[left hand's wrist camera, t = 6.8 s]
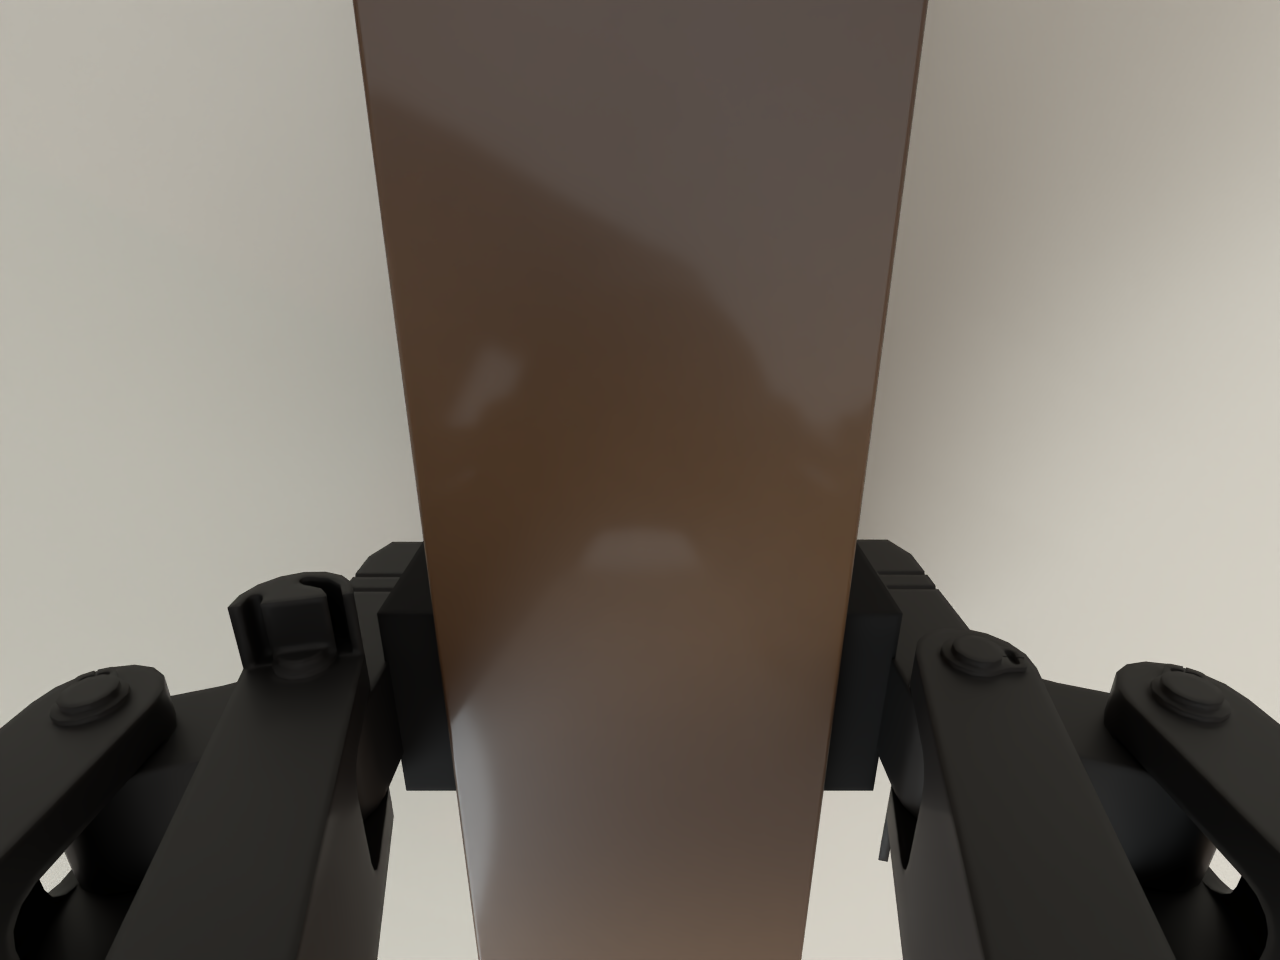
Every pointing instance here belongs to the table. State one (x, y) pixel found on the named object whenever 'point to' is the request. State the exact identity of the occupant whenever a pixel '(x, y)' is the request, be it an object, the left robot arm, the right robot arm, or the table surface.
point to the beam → (640, 434)
